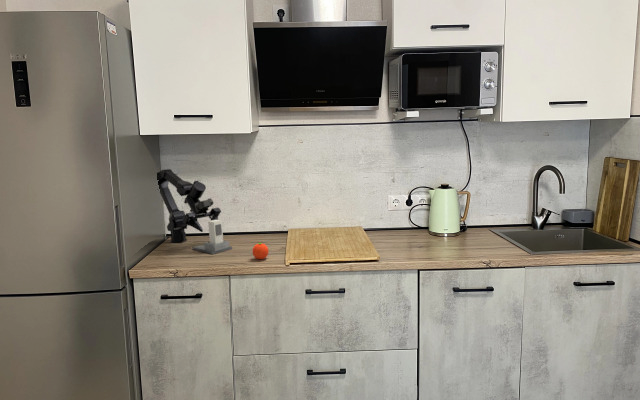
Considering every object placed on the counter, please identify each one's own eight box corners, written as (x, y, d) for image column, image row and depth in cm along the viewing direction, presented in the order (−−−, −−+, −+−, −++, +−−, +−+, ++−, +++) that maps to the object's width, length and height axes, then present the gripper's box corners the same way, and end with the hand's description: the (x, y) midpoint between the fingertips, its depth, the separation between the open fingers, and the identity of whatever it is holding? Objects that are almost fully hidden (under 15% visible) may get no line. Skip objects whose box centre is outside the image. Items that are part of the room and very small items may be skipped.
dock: (192, 249, 234) (191, 240, 233) (211, 244, 242) (211, 236, 241) (212, 254, 223) (211, 245, 223) (232, 249, 231) (231, 240, 231)
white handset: (210, 248, 230) (208, 221, 228) (218, 246, 233) (216, 219, 231) (216, 249, 227) (214, 222, 225) (224, 247, 230) (221, 220, 228)
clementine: (251, 257, 215) (250, 241, 214) (266, 255, 217) (265, 239, 216) (254, 262, 208) (253, 245, 207) (270, 260, 210) (269, 243, 209)
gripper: (184, 196, 225) (199, 222, 220) (217, 191, 239) (233, 215, 233) (176, 211, 232) (191, 237, 226) (209, 205, 245) (224, 229, 240)
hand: (210, 229), depth 231 cm, fingers open, 9 cm apart
